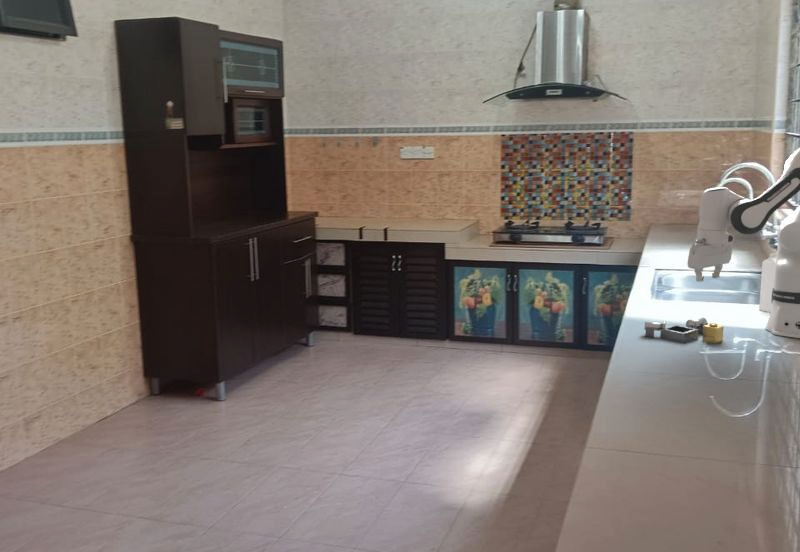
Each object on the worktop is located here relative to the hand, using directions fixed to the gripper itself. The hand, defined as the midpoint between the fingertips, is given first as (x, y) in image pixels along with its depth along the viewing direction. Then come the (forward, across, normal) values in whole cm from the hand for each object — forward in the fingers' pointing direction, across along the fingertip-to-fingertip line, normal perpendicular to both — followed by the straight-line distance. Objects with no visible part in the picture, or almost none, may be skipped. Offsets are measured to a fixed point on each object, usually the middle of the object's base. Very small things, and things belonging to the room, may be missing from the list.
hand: (707, 279), depth 263 cm
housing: (+20, -6, +5) cm, 21 cm away
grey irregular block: (+20, +4, +5) cm, 21 cm away
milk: (+20, +54, +4) cm, 58 cm away
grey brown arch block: (+20, -10, +11) cm, 25 cm away
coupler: (+20, -1, -4) cm, 20 cm away
